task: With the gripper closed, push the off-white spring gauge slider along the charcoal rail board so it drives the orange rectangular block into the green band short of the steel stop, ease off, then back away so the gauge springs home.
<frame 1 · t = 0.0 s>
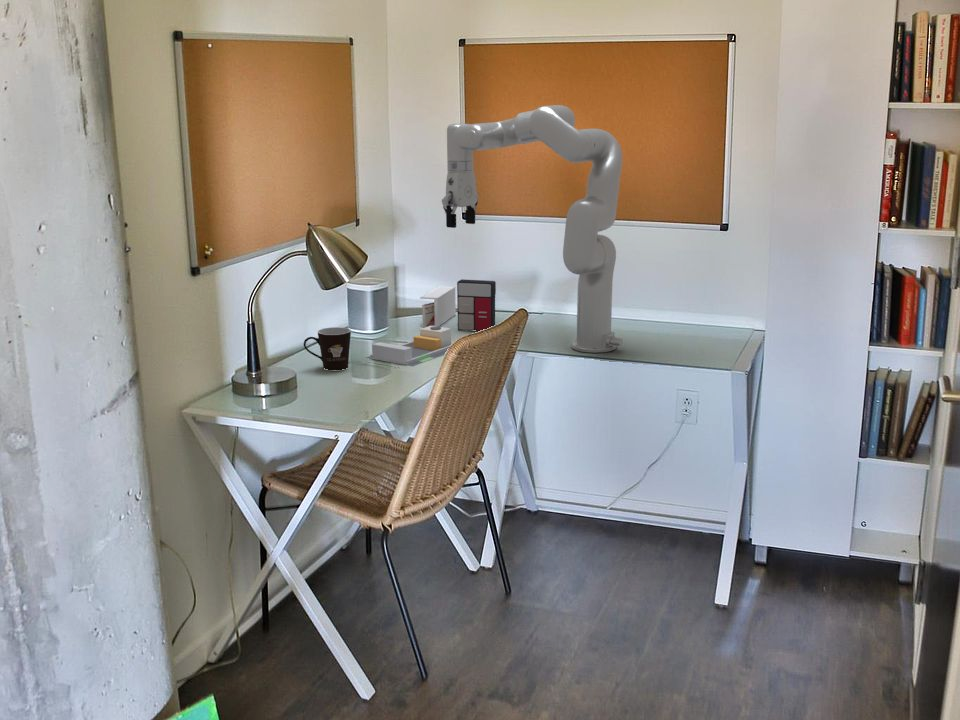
hand: (460, 225, 317), 31 cm above the table, tool pointing down, fingers open, 9 cm apart
gauge: (435, 336, 299), point 4 cm above the table, slide at 0.0 cm
board: (417, 356, 293), on the table
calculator: (476, 331, 322), on the table
orange rectangular block: (427, 348, 296), point 1 cm above the table, touching board
coffee mug: (330, 368, 282), on the table
cigarette display: (438, 322, 335), on the table
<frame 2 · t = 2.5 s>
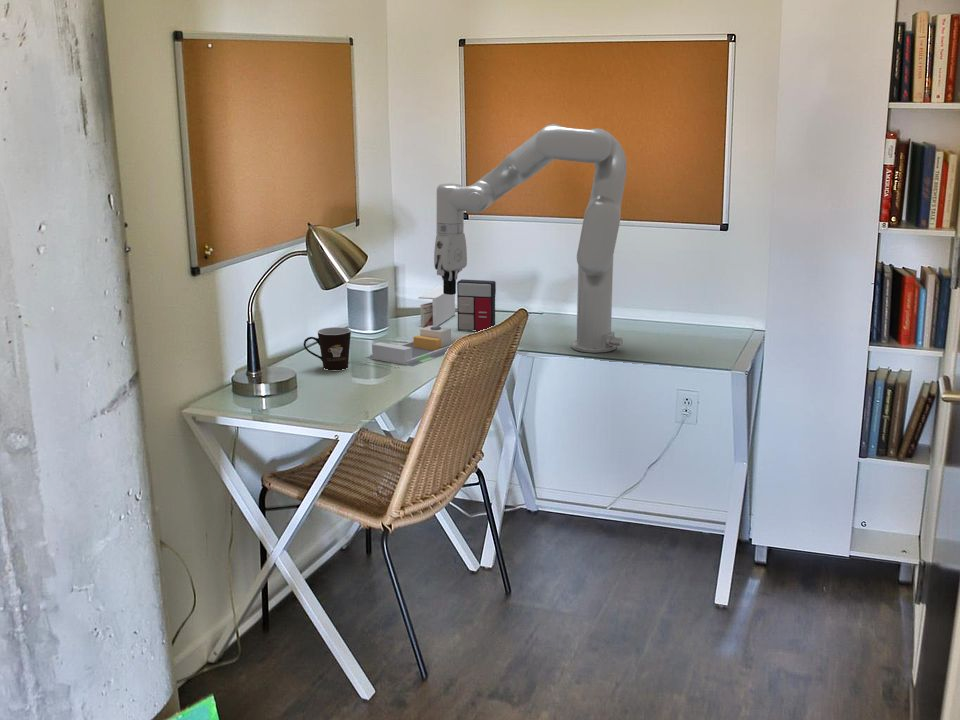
hand: (449, 293, 302), 15 cm above the table, tool pointing down, fingers closed
nothing on the table moved.
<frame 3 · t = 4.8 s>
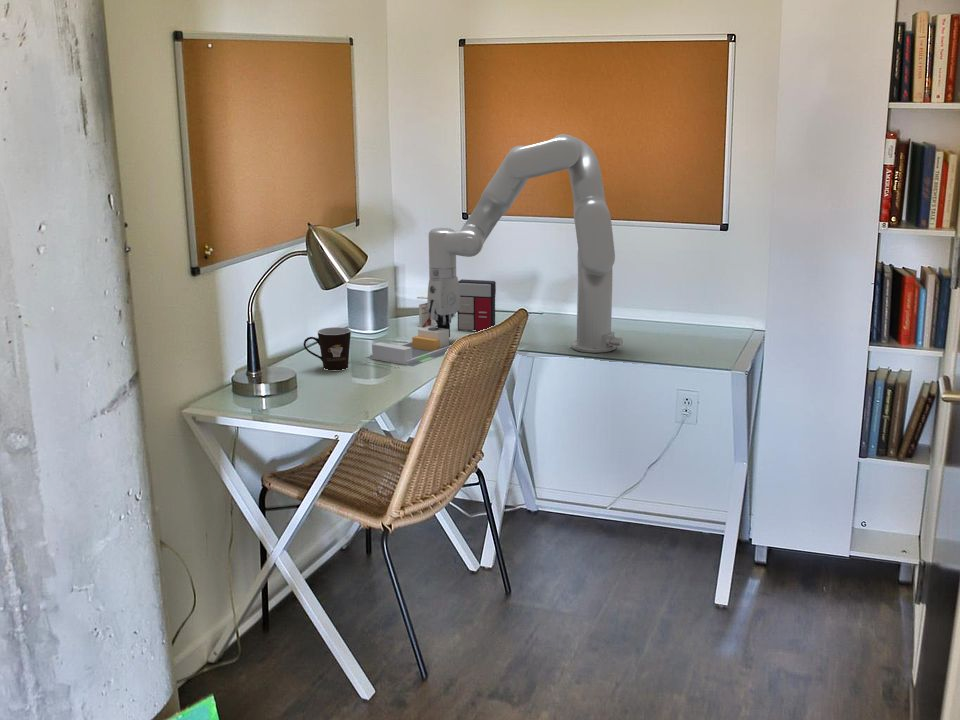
hand: (443, 337, 302), 3 cm above the table, tool pointing down, fingers closed
gauge: (433, 336, 298), point 4 cm above the table, slide at 1.0 cm, touching gripper
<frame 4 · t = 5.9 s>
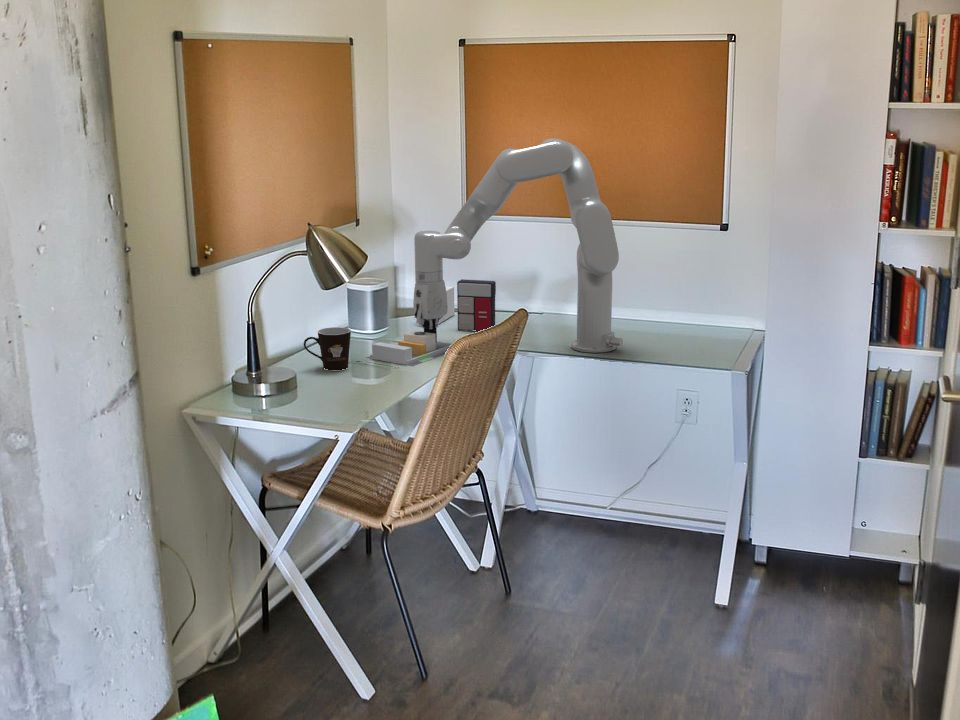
hand: (430, 341, 297), 3 cm above the table, tool pointing down, fingers closed
gauge: (419, 341, 293), point 4 cm above the table, slide at 7.3 cm, touching gripper, orange rectangular block
orange rectangular block: (412, 353, 291), point 1 cm above the table, touching gauge
everything else where it was.
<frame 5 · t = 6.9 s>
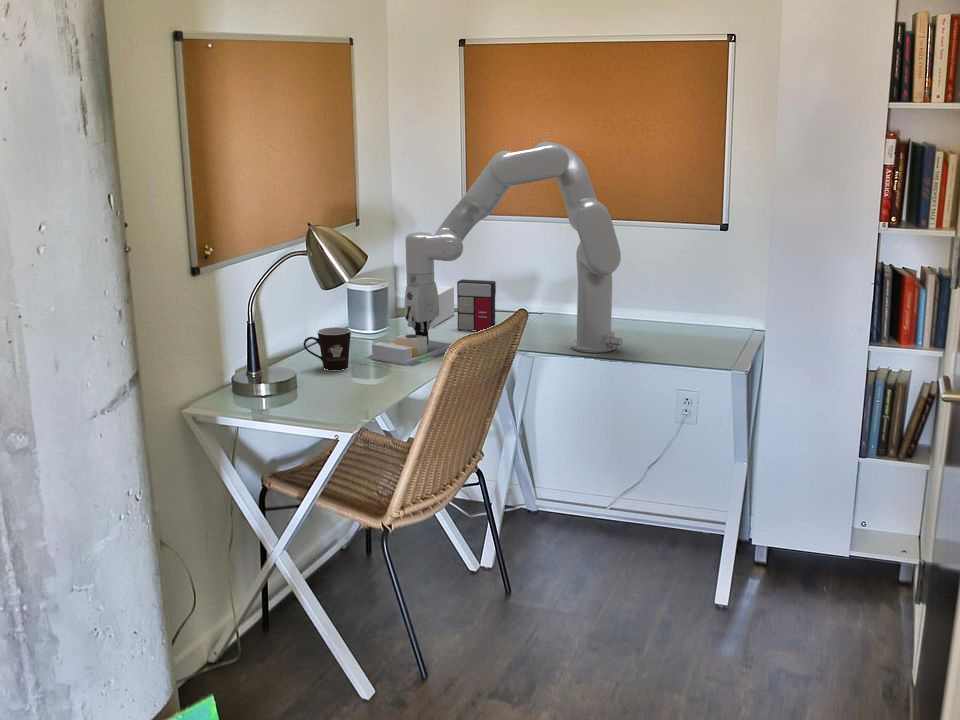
hand: (421, 344, 294), 3 cm above the table, tool pointing down, fingers closed
gauge: (411, 344, 290), point 4 cm above the table, slide at 11.2 cm, touching gripper
orange rectangular block: (403, 356, 288), point 1 cm above the table, touching board
everything else where it was.
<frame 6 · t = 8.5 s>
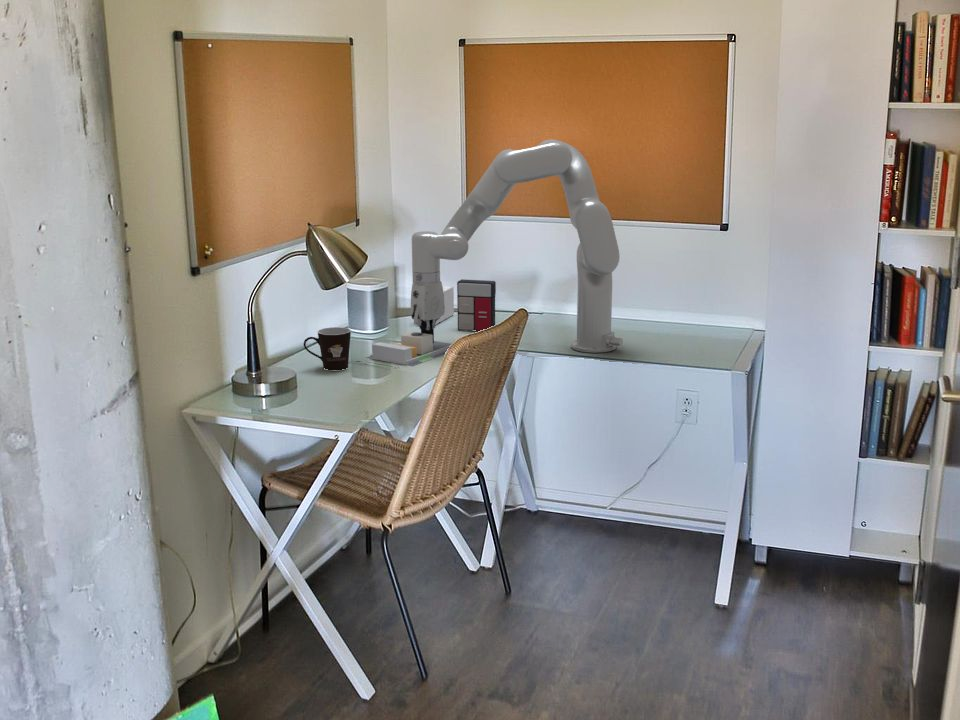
hand: (427, 342, 296), 3 cm above the table, tool pointing down, fingers closed
gauge: (416, 342, 292), point 4 cm above the table, slide at 8.6 cm, touching gripper
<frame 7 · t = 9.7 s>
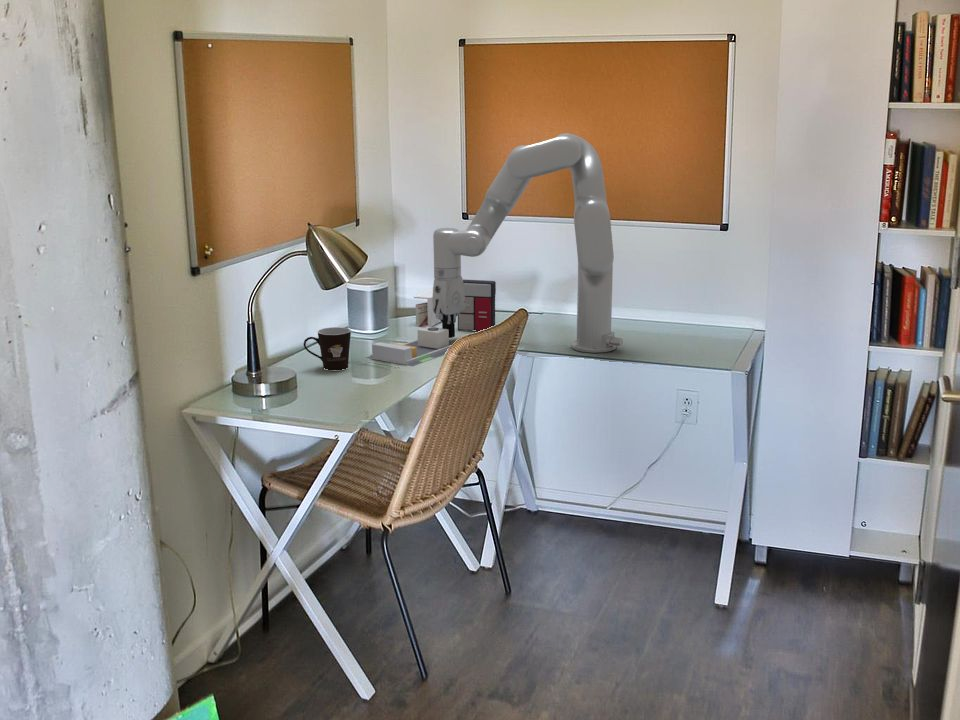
hand: (448, 336, 304), 3 cm above the table, tool pointing down, fingers closed
gauge: (433, 337, 298), point 4 cm above the table, slide at 1.2 cm
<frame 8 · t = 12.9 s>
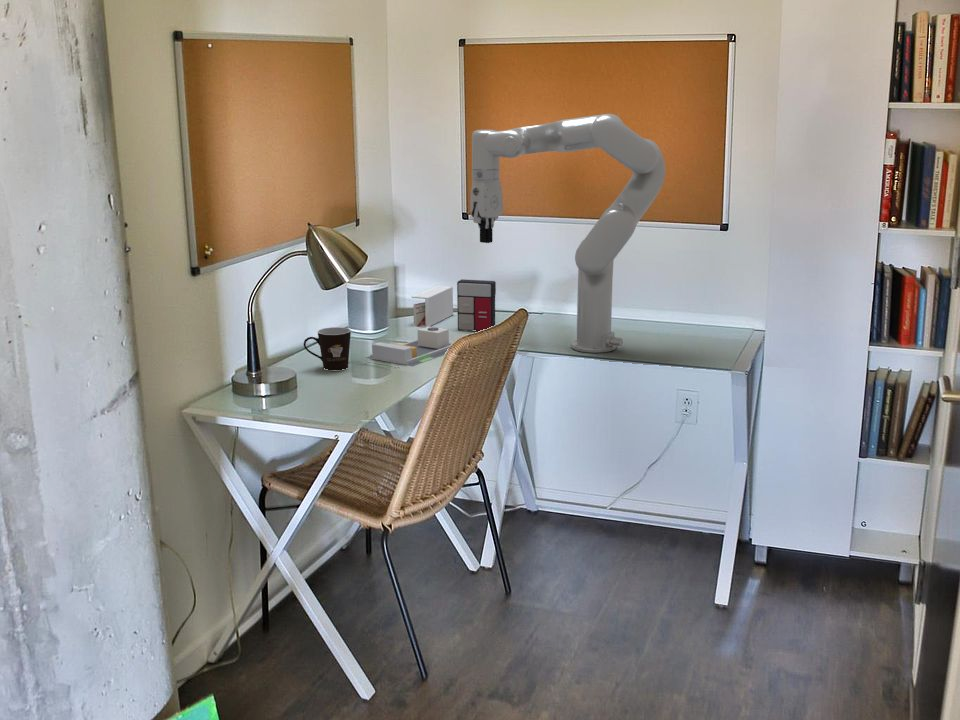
hand: (486, 242, 299), 29 cm above the table, tool pointing down, fingers closed
at the end: orange rectangular block 0.5 cm from the target spot on the board, point 1.2 cm above the board's base; gauge slide at 1.2 cm; orange rectangular block tilted 0° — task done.
